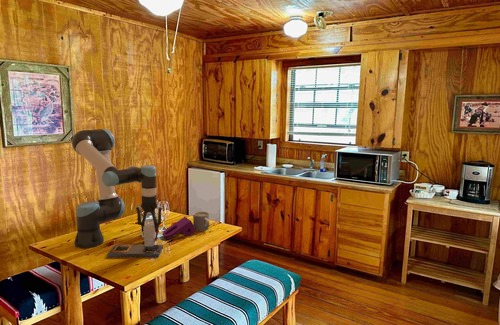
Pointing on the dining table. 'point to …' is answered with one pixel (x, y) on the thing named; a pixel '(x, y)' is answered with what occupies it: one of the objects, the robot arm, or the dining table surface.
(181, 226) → the mounting bracket
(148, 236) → the peg
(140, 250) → the grey peg board
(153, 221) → the plastic cup
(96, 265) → the dining table surface
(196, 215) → the coffee mug
